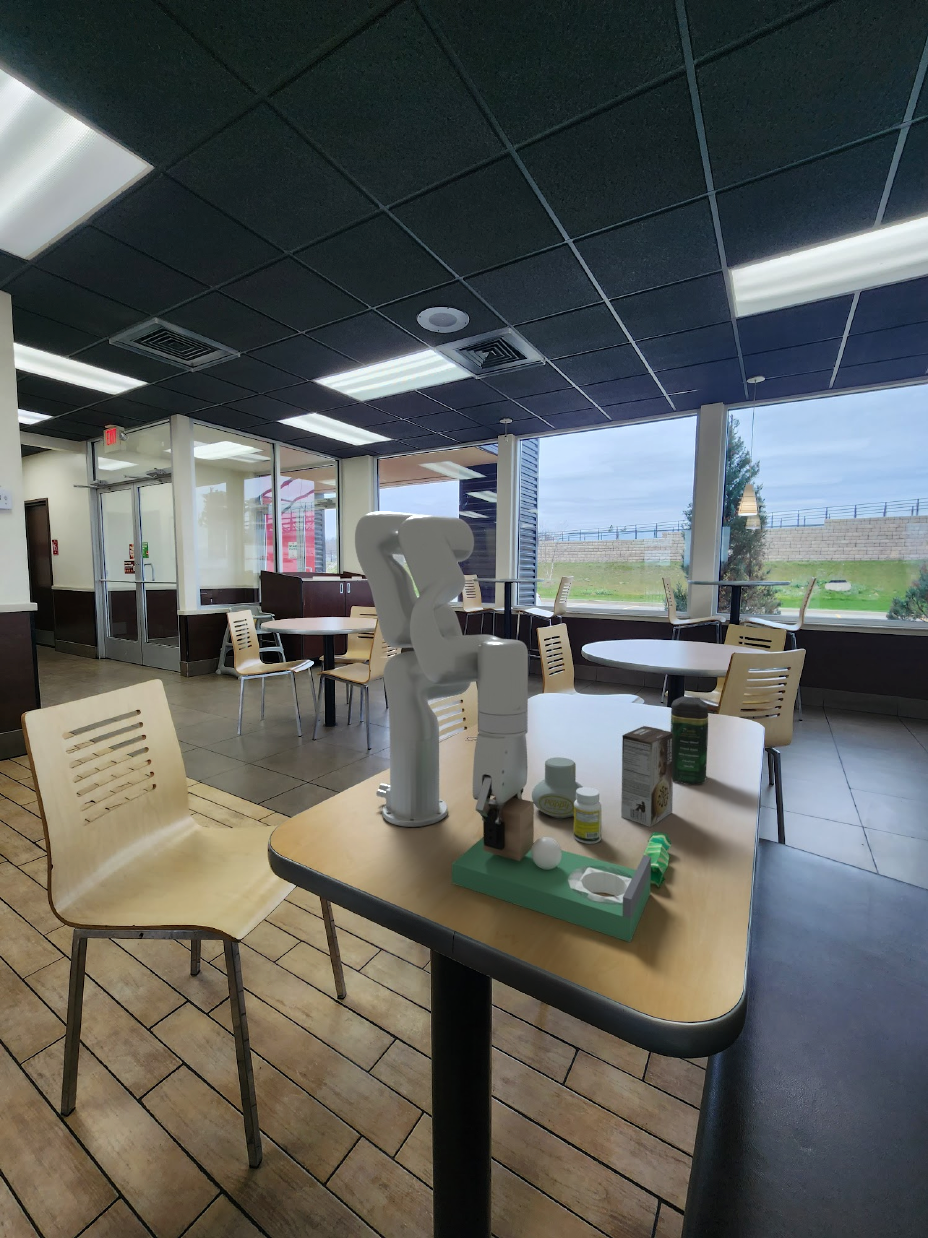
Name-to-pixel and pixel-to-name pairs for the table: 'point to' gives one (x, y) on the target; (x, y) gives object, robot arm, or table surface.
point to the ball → (546, 853)
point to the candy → (658, 856)
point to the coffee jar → (689, 739)
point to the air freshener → (557, 788)
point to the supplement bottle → (587, 816)
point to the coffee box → (647, 775)
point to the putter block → (515, 829)
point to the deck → (562, 887)
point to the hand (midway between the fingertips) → (502, 838)
